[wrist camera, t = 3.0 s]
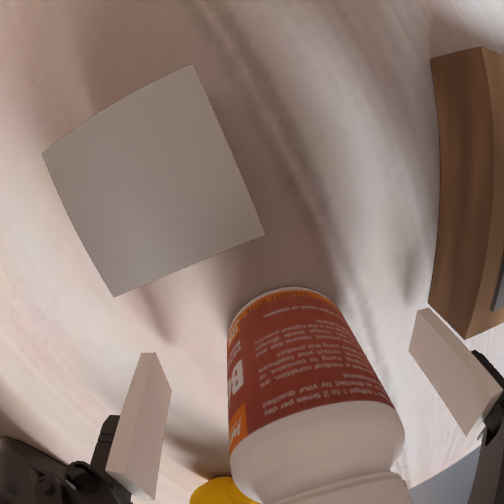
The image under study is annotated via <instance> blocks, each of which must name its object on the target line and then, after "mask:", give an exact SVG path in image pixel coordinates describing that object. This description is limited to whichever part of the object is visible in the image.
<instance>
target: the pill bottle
mask: <svg viewBox="0 0 504 504" xmlns="http://www.w3.org/2000/svg"><path fill="white" fill-rule="evenodd" d="M227 381H228V423H229V452H230V466H231V474H232V478H233V480H234V483H235V484H236V486H237V487H238V489H239V490H240V491H241V492H242V493H243V494H244V495H246V496H247V497H249V498H250V499H252V500H254V501H256V502H259V503H262V504H413V501H412V499H411V496H410V494H409V491H408V488H407V484H406V481H405V480H403V479H401V476H400V475H399V474H397V473H394V472H391V471H390V469H391V468H392V467H393V465H394V464H395V463H396V461H397V460H398V458H399V456H400V454H401V452H402V450H403V446H404V441H405V433H404V428H403V425H402V422H401V420H400V418H399V416H398V414H397V411H396V410H395V408H394V406H393V404H392V402H391V400H390V398H389V397H388V395H387V393H386V391H385V389H384V388H383V386H382V384H381V382H380V380H379V379H378V377H377V375H376V373H375V371H374V370H373V368H372V366H371V364H370V363H369V361H368V359H367V357H366V355H365V354H364V352H363V350H362V348H361V347H360V345H359V343H358V341H357V340H356V338H355V336H354V334H353V333H352V331H351V329H350V327H349V326H348V324H347V322H346V320H345V319H344V317H343V315H342V314H341V312H340V311H339V309H338V308H337V307H336V305H335V304H334V303H333V302H332V301H331V300H330V299H329V298H327V297H326V296H325V295H323V294H321V293H319V292H317V291H314V290H311V289H308V288H302V287H284V288H278V289H274V290H271V291H268V292H266V293H263V294H261V295H259V296H257V297H256V298H254V299H253V300H251V301H250V302H248V303H247V304H246V305H245V306H244V307H243V308H242V309H241V310H240V311H239V312H238V313H237V315H236V316H235V318H234V319H233V321H232V323H231V326H230V328H229V332H228V338H227Z"/></svg>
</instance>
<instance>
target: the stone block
mask: <svg viewBox="0 0 504 504" xmlns="http://www.w3.org/2000/svg"><path fill="white" fill-rule="evenodd" d="M42 155H43V158H44V160H45V163H46V166H47V168H48V171H49V173H50V175H51V178H52V180H53V183H54V185H55V187H56V190H57V192H58V194H59V196H60V199H61V201H62V203H63V205H64V207H65V209H66V211H67V214H68V216H69V218H70V220H71V222H72V224H73V226H74V228H75V230H76V232H77V234H78V236H79V238H80V239H81V241H82V243H83V245H84V247H85V249H86V251H87V253H88V254H89V256H90V258H91V260H92V262H93V263H94V265H95V267H96V269H97V270H98V272H99V274H100V275H101V277H102V279H103V280H104V282H105V284H106V285H107V287H108V289H109V290H110V292H111V294H112V295H113V297H116V296H118V295H121V294H123V293H125V292H128V291H130V290H133V289H135V288H137V287H140V286H142V285H145V284H147V283H149V282H152V281H154V280H156V279H159V278H161V277H164V276H166V275H168V274H171V273H173V272H176V271H178V270H181V269H183V268H185V267H188V266H190V265H193V264H195V263H197V262H200V261H202V260H205V259H207V258H210V257H212V256H214V255H217V254H219V253H222V252H224V251H227V250H229V249H232V248H234V247H236V246H239V245H241V244H244V243H246V242H249V241H251V240H254V239H256V238H259V237H261V236H264V235H265V232H264V230H263V227H262V224H261V222H260V219H259V217H258V214H257V211H256V209H255V206H254V204H253V201H252V199H251V196H250V194H249V191H248V189H247V187H246V184H245V182H244V180H243V177H242V175H241V172H240V170H239V168H238V165H237V163H236V161H235V158H234V156H233V153H232V151H231V149H230V146H229V144H228V142H227V139H226V137H225V135H224V132H223V130H222V128H221V125H220V123H219V121H218V118H217V116H216V114H215V112H214V109H213V107H212V105H211V102H210V100H209V98H208V96H207V93H206V91H205V89H204V87H203V85H202V83H201V81H200V78H199V76H198V74H197V72H196V70H195V68H194V66H193V64H190V65H188V66H186V67H183V68H181V69H179V70H177V71H174V72H172V73H170V74H168V75H166V76H164V77H162V78H160V79H158V80H156V81H154V82H152V83H150V84H148V85H146V86H144V87H142V88H140V89H138V90H136V91H134V92H133V93H131V94H129V95H127V96H125V97H124V98H122V99H120V100H118V101H117V102H115V103H113V104H112V105H110V106H108V107H107V108H105V109H104V110H102V111H100V112H99V113H97V114H96V115H94V116H92V117H91V118H89V119H88V120H86V121H85V122H83V123H82V124H80V125H79V126H78V127H76V128H75V129H73V130H72V131H70V132H69V133H68V134H66V135H65V136H64V137H62V138H61V139H59V140H58V141H57V142H55V143H54V144H53V145H52V146H50V147H49V148H48V149H46V150H45V151H44V152H43V153H42Z"/></svg>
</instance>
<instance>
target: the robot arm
mask: <svg viewBox="0 0 504 504" xmlns="http://www.w3.org/2000/svg"><path fill="white" fill-rule="evenodd" d="M409 352H410V354H411V355H412V357H413V358H414V359H415V361H416V362H417V364H418V365H419V366H420V368H421V369H422V371H423V372H424V373H425V375H426V376H427V378H428V379H429V381H430V382H431V384H432V385H433V386H434V388H435V389H436V391H437V392H438V394H439V395H440V397H441V398H442V400H443V401H444V403H445V404H446V406H447V407H448V409H449V410H450V412H451V414H452V415H453V417H454V418H455V420H456V421H457V423H458V425H459V426H460V428H461V429H462V431H463V433H464V434H465V436H468V435H470V434H471V433H473V432H475V431H477V430H478V429H479V427H480V426H481V425H482V423H483V422H484V423H485V425H486V426H485V428H484V429H483V430H482V432H481V433H480V435H479V436H478V438H477V440H479V439H480V438H481V437H482V435H483V438H482V440H481V441H482V444H481V450H480V456H479V461H478V465H477V470H476V474H475V479H474V483H473V487H472V490H471V494H470V497H469V501H468V504H504V378H503V377H502V376H501V374H500V373H499V372H498V371H497V370H496V369H495V368H494V366H493V365H492V364H491V363H489V361H488V360H487V359H486V357H485V356H484V355H483V354H481V353H479V352H477V351H476V350H473V351H471V352H470V351H469V350H468V348H467V347H466V346H465V345H464V344H463V343H462V342H461V341H460V340H459V339H458V338H457V336H456V335H455V334H454V333H453V332H452V331H451V330H450V329H449V328H448V327H447V326H446V325H445V324H444V323H443V322H442V321H441V320H440V319H439V318H438V317H437V316H436V315H435V314H434V313H433V312H432V311H431V310H430V308H425V309H422V310H418V311H417V315H416V320H415V325H414V329H413V334H412V338H411V342H410V347H409ZM171 392H172V390H171V388H170V386H169V383H168V381H167V379H166V376H165V374H164V372H163V369H162V367H161V364H160V362H159V360H158V357H157V355H156V353H141V355H140V358H139V361H138V364H137V367H136V370H135V373H134V376H133V379H132V382H131V385H130V388H129V391H128V394H127V397H126V400H125V403H124V406H123V409H122V413H121V416H119V415H110V416H109V417H108V418H107V419H106V421H105V422H104V423H103V426H102V429H101V432H100V435H99V438H98V442H97V444H96V447H95V450H94V453H93V457H92V460H91V463H90V465H89V464H88V463H86V462H84V461H76V462H72V463H71V464H69V465H68V466H67V467H65V466H64V465H62V464H60V463H59V462H57V461H55V460H54V459H52V458H50V457H48V456H47V455H45V454H43V453H41V452H39V451H38V450H36V449H34V448H32V447H30V446H28V445H26V444H24V443H21V442H19V441H17V440H14V439H11V438H7V437H2V438H1V439H0V504H133V503H132V502H131V501H130V500H131V494H132V495H133V496H134V497H136V498H137V499H143V500H151V501H155V493H156V485H157V478H158V471H159V464H160V457H161V450H162V444H163V438H164V431H165V425H166V420H167V414H168V408H169V402H170V397H171Z"/></svg>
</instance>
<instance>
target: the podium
mask: <svg viewBox="0 0 504 504" xmlns="http://www.w3.org/2000/svg"><path fill="white" fill-rule="evenodd" d="M430 63H431V69H432V74H433V81H434V88H435V95H436V103H437V113H438V124H439V139H440V209H439V225H438V236H437V246H436V255H435V263H434V270H433V277H432V283H431V289H430V295H429V300H428V304H429V305H430V306H431V307H432V308H433V309H434V310H435V311H436V312H437V313H438V314H439V315H440V316H441V317H442V318H443V319H444V320H445V321H446V322H447V323H448V324H449V325H450V326H451V327H452V328H453V329H454V330H455V331H456V332H457V333H458V334H459V335H460V336H461V337H462V338H463V339H464V340H466V339H468V338H471V337H473V336H475V335H477V334H480V333H482V332H484V331H486V330H488V329H490V328H493V327H495V326H497V325H499V324H501V323H503V322H504V57H503V56H501V55H499V54H497V53H495V52H493V51H491V50H488V49H486V48H484V47H481V46H480V47H476V48H471V49H467V50H462V51H458V52H454V53H450V54H446V55H443V56H439V57H435V58H432V59H430Z"/></svg>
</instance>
